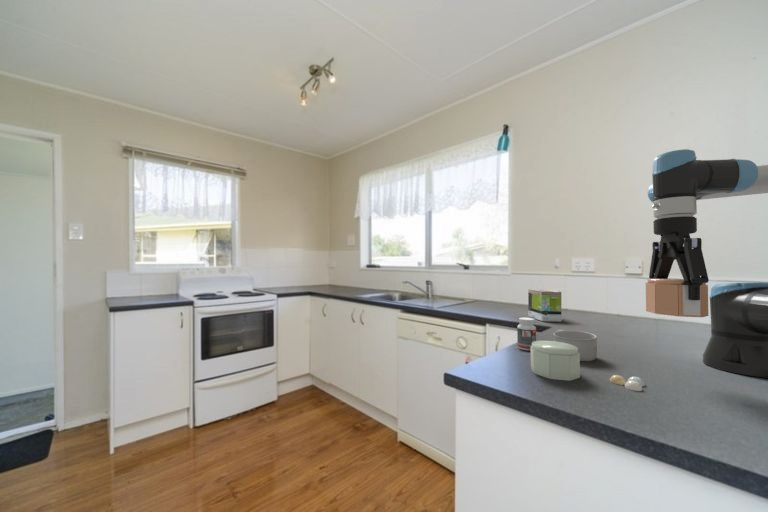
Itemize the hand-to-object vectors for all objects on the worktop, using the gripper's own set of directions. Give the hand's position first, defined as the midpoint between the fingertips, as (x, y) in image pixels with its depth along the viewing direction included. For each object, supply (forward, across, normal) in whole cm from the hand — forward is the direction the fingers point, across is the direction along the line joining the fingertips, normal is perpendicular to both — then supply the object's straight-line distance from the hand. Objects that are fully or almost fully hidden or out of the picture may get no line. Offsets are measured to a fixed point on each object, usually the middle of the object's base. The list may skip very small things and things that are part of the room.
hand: (675, 311), depth 73 cm
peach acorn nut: (+1, 0, 0) cm, 1 cm away
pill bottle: (+17, -23, -29) cm, 41 cm away
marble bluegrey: (+16, +7, -11) cm, 20 cm away
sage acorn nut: (+17, +4, -27) cm, 32 cm away
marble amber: (+16, +7, -15) cm, 23 cm away
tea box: (+17, -85, -11) cm, 87 cm away
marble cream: (+16, +10, -13) cm, 23 cm away
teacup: (+17, -14, -18) cm, 29 cm away
